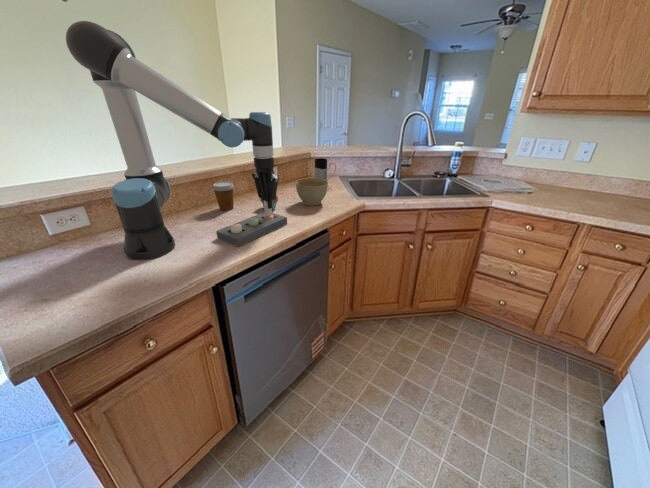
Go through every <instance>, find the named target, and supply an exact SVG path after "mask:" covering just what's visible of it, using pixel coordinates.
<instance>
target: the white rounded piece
mask: <svg viewBox="0 0 650 488" xmlns="http://www.w3.org/2000/svg"><path fill="white" fill-rule="evenodd" d="M229 226H230V225H229ZM230 229H231V233H232V234H235V235H236V234H239V233H241V232H242V227H241V224H235V223H234V224H231V226H230Z"/></svg>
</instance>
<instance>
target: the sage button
mask: <svg viewBox="0 0 650 488" xmlns="http://www.w3.org/2000/svg"><path fill="white" fill-rule="evenodd" d="M247 219H248V225H249V226H251V227H255V226H257V225H259V221H258V218H257V217H253V216H251V217H248V218H247Z"/></svg>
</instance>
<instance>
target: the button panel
mask: <svg viewBox="0 0 650 488" xmlns="http://www.w3.org/2000/svg"><path fill="white" fill-rule="evenodd" d="M264 215H265V212H261V213H259V214H256V215H253V216H252V217H257V218H258V221H259V225H257V226H255V227H251V226H249V225H248V218H246V219H243V220H241V221H238V222H235V223H234V224H241V227H242V232H241V233H239V234H236V235H235V234H232V233H231V229H230V226H231V225H232V224H231V225H228V226H225V227H223V228H220V229H218V230H216V231H215V232H216V237H217V239H218V240H220V241H224V242H226V243H228V244H231V245H233V246H235V247H241V246H243V245H245V244H247V243H250V242H252V241H253V240H256V239H258V238H260V237H263V236H265V235H267V234H269V233H272V231H275V230H277V229H280V228H282V227H283V226H285V225H287V224H288V217H287V216H284V215H280V214H277V213H273V212H272V215H274V219H271V220H266V219H264Z"/></svg>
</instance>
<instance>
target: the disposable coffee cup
mask: <svg viewBox="0 0 650 488" xmlns="http://www.w3.org/2000/svg"><path fill="white" fill-rule="evenodd" d="M234 187H235V185H234V184H233V182H231V181H218V182H214V183H213V184H212V189H213V192H214V194H215V195H214V196H215V198H216V201H217V204H218V205H217V206H218V209H219V210H220V211H221V212H222V211H223V212H224V211H225V212H226V211H231V210H233V209H234Z"/></svg>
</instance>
